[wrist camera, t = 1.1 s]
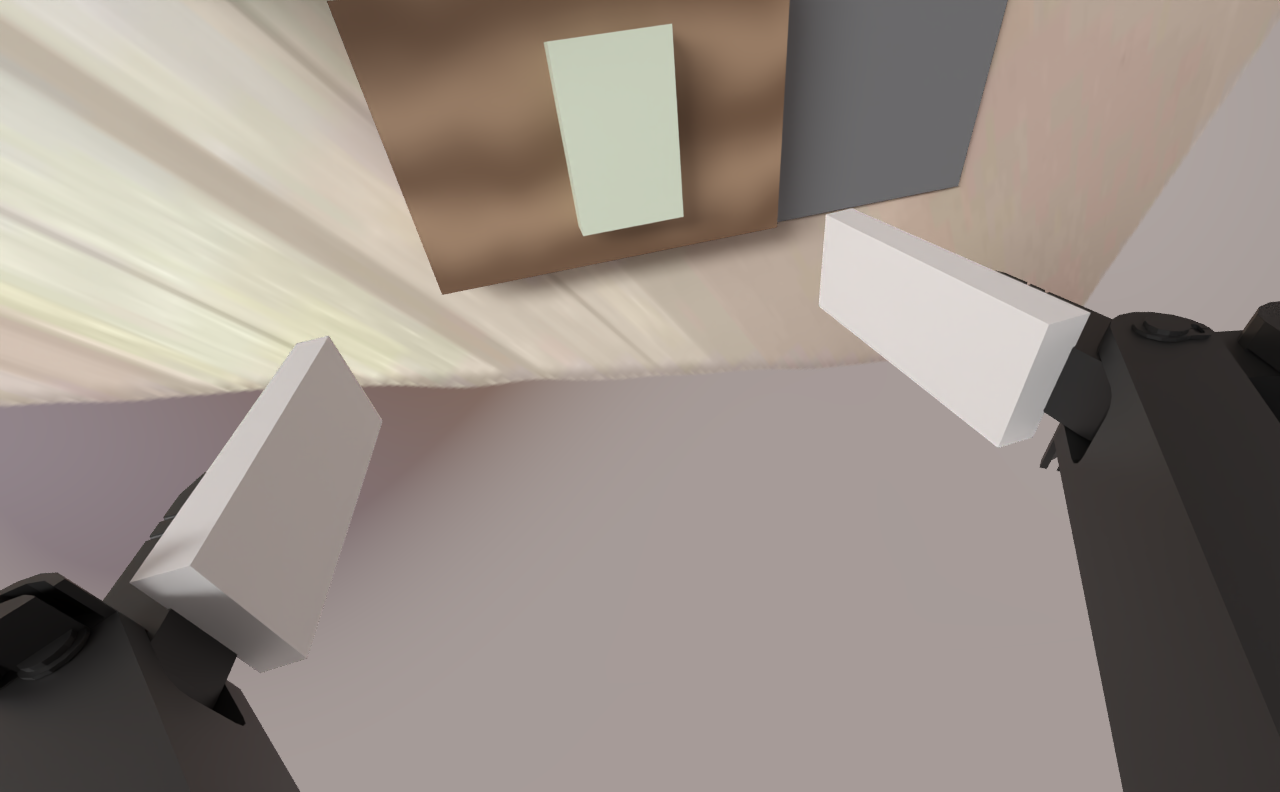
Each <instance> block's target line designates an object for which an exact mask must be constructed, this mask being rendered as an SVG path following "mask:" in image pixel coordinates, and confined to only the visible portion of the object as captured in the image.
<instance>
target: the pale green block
mask: <svg viewBox="0 0 1280 792" xmlns="http://www.w3.org/2000/svg"><path fill="white" fill-rule="evenodd" d="M544 47H545V52H546V58H547V63H548V68H549V73H550V79H551V84H552V89H553V94H554V100H555V105H556V110H557V115H558V121H559V126H560V131H561V136H562V142H563V147H564V152H565V157H566V163H567V168H568V173H569V178H570V184H571V189H572V194H573V199H574V205H575V210H576V215H577V220H578V226H579V228H580V230H581V232H582V235H583V236H587V235H592V234H597V233H602V232H607V231H613V230H618V229H623V228H628V227H633V226H638V225H644V224H649V223H654V222H659V221H664V220H669V219H674V218H680V217H684V215H683V199H682V182H681V165H680V148H679V131H678V114H677V98H676V81H675V64H674V47H673V30H672V24H666V25H659V26H652V27H645V28H638V29H631V30H624V31H617V32H610V33H603V34H596V35H589V36H582V37H576V38H569V39H562V40H555V41H548V42H544Z"/></svg>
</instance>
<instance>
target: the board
mask: <svg viewBox="0 0 1280 792" xmlns="http://www.w3.org/2000/svg"><path fill="white" fill-rule="evenodd" d="M327 3H328V5H329V8H330V10H331V13H332V16H333V18H334V21H335V23H336V26H337V28H338V31H339V33H340V36H341V38H342V41H343V43H344V46H345V49H346V51H347V54H348V56H349V59H350V61H351V64H352V66H353V69H354V71H355V74H356V77H357V79H358V82H359V84H360V87H361V89H362V92H363V94H364V97H365V99H366V102H367V104H368V107H369V110H370V112H371V115H372V117H373V120H374V122H375V125H376V127H377V130H378V132H379V135H380V137H381V140H382V143H383V145H384V148H385V150H386V153H387V155H388V158H389V160H390V163H391V165H392V168H393V171H394V173H395V176H396V178H397V181H398V183H399V186H400V188H401V191H402V193H403V196H404V198H405V201H406V204H407V206H408V209H409V211H410V214H411V216H412V219H413V221H414V224H415V226H416V229H417V232H418V234H419V237H420V239H421V242H422V244H423V247H424V249H425V252H426V254H427V257H428V259H429V262H430V265H431V267H432V270H433V272H434V275H435V277H436V280H437V282H438V285H439V287H440V290H441V293H442V295H444V294H449V293H453V292H458V291H463V290H468V289H473V288H478V287H483V286H488V285H493V284H498V283H503V282H508V281H513V280H518V279H523V278H528V277H533V276H538V275H543V274H548V273H553V272H558V271H563V270H568V269H572V268H577V267H582V266H587V265H592V264H597V263H602V262H607V261H612V260H617V259H622V258H627V257H632V256H637V255H642V254H647V253H652V252H657V251H662V250H667V249H672V248H677V247H682V246H686V245H691V244H696V243H701V242H706V241H711V240H716V239H721V238H726V237H731V236H736V235H741V234H746V233H751V232H756V231H761V230H766V229H771V228H776V227H777V217H778V199H779V182H780V164H781V146H782V128H783V110H784V92H785V74H786V57H787V39H788V21H789V3H790V0H333V1H327ZM666 24H672V30H673V47H674V64H675V81H676V98H677V114H678V131H679V148H680V165H681V182H682V199H683V215H684V217H680V218H674V219H669V220H664V221H659V222H654V223H649V224H644V225H638V226H633V227H628V228H623V229H618V230H613V231H607V232H602V233H597V234H592V235H587V236H583V235H582V232H581V230H580V228H579V226H578V220H577V215H576V210H575V205H574V199H573V194H572V189H571V184H570V178H569V173H568V168H567V163H566V157H565V152H564V147H563V142H562V136H561V131H560V126H559V121H558V115H557V110H556V105H555V100H554V94H553V89H552V84H551V79H550V73H549V68H548V63H547V58H546V52H545V47H544V42H548V41H555V40H562V39H569V38H576V37H582V36H589V35H596V34H603V33H610V32H617V31H624V30H631V29H638V28H645V27H652V26H659V25H666Z"/></svg>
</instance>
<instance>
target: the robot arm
mask: <svg viewBox="0 0 1280 792" xmlns="http://www.w3.org/2000/svg"><path fill="white" fill-rule="evenodd" d="M819 307H820V308H822V309H823V310H824V311H826V312H827V313H828V314H829V315H831V316H832V317H833V318H834V319H836V320H837V321H838V322H839V323H841V324H842V325H843V326H845V327H846V328H847V329H848V330H850V331H851V332H852V333H853V334H855V335H856V336H857V337H858V338H860V339H861V340H862V341H864V342H865V343H866V344H867V345H869V346H870V347H871V348H872V349H874V350H875V351H876V352H877V353H879V354H880V355H881V356H882V357H884V358H885V359H886V360H888V361H889V362H890V363H891V364H893V365H894V366H895V367H896V368H898V369H899V370H900V371H901V372H903V373H904V374H905V375H907V376H908V377H909V378H910V379H912V380H913V381H914V382H915V383H917V384H918V385H919V386H920V387H922V388H923V389H924V390H926V391H927V392H928V393H929V394H931V395H932V396H933V397H935V398H936V399H937V400H938V401H939V402H941V403H942V404H943V405H945V406H946V407H947V408H948V409H950V410H951V411H952V412H953V413H955V414H956V415H957V416H959V417H960V418H961V419H962V420H964V421H965V422H966V423H967V424H969V425H970V426H971V427H972V428H974V429H975V430H976V431H978V432H979V433H980V434H981V435H982V436H984V437H985V438H986V439H988V440H989V441H990V442H991V443H993V444H994V445H995V446H996V447H998V448H999V447H1002V446H1005V445H1009V444H1012V443H1016V442H1019V441H1022V440H1025V439H1029V438H1032V437H1033V436H1034V433H1035V431H1036V429H1037V427H1038V425H1039V423H1040V421H1041V418H1042V416H1043V414H1044V412H1045V413H1046V414H1048V415H1049V416H1051V417H1053V418H1054V419H1056V420H1057V421H1059V422H1060V424H1059V426H1058V428H1057V430H1056V432H1055V434H1054V436H1053V438H1052V440H1051V442H1050V444H1049V446H1048V448H1047V450H1046V452H1045V454H1044V456H1043V458H1042V460H1041V464H1040V467H1041V468H1045V469H1046V468H1047V467H1048V465H1049V463H1050V462H1051V460H1053V459H1055V458H1056V457H1057V458H1058V463H1059V467H1058V469H1057V470H1058V471H1060V473H1061V478H1062V483H1063V489H1064V494H1065V499H1066V504H1067V509H1068V514H1069V519H1070V524H1071V529H1072V534H1073V539H1074V544H1075V549H1076V554H1077V559H1078V565H1079V570H1080V574H1081V579H1082V585H1083V590H1084V595H1085V600H1086V605H1087V609H1088V615H1089V620H1090V625H1091V630H1092V636H1093V641H1094V646H1095V650H1096V656H1097V661H1098V666H1099V671H1100V676H1101V681H1102V686H1103V691H1104V696H1105V701H1106V706H1107V711H1108V717H1109V721H1110V726H1111V732H1112V737H1113V742H1114V747H1115V752H1116V757H1117V762H1118V767H1119V772H1120V777H1121V782H1122V787H1123V792H1280V301H1279V302H1270V303H1267V304H1265V305H1263V306H1260V307H1259V308H1258V310H1257V311H1256V313H1255V314H1254V316H1253V317H1252V318H1251V320H1250V321H1249V323H1248V324H1247V325H1246V327H1245V328H1244V330H1240V331H1225V332H1214V331H1213V330H1211V329H1210V328H1209V327H1207V326H1205V325H1204V324H1201V323H1198V322H1196V321H1193V320H1190V319H1186V318H1183V317H1179V316H1175V315H1169V314H1161V313H1155V312H1132V313H1128V314H1123V315H1119V316H1117V317H1115V318H1114V319H1110V318H1108V317H1106V316H1103V315H1101V314H1099V313H1097V312H1094V311H1092V310H1090V309H1087V308H1085V307H1083V306H1080V305H1078V304H1076V303H1073V302H1071V301H1069V300H1067V299H1064V298H1062V297H1060V296H1057V295H1055V294H1053V293H1050V292H1048V293H1045V290H1043V289H1041V288H1039V287H1037V286H1034V285H1032V284H1030V285H1027V282H1025V281H1023V280H1020V279H1018V278H1016V277H1014V276H1011V275H1009V274H1007V273H1003V272H999V271H995V270H992V269H990V268H987V267H985V266H983V265H981V264H978V263H976V262H974V261H971V260H969V259H967V258H965V257H962V256H960V255H958V254H955V253H953V252H951V251H949V250H946V249H944V248H942V247H939V246H937V245H935V244H933V243H930V242H928V241H926V240H923V239H921V238H919V237H917V236H914V235H912V234H910V233H907V232H905V231H903V230H901V229H898V228H896V227H894V226H892V225H889V224H887V223H885V222H882V221H880V220H878V219H876V218H873V217H871V216H869V215H866V214H864V213H862V212H860V211H857V210H855V209H853V208H851V209H847V210H843V211H839V212H835V213H831V214H826V222H825V234H824V247H823V259H822V272H821V284H820V297H819ZM381 424H382V419H381V417H380V416H379V414H378V413H377V411H376V410H375V408H374V406H373V405H372V403H371V402H370V400H369V398H368V397H367V395H366V394H365V392H364V391H363V389H362V387H361V386H360V384H359V383H358V381H357V379H356V378H355V376H354V375H353V373H352V372H351V370H350V368H349V367H348V365H347V364H346V362H345V360H344V359H343V357H342V356H341V354H340V353H339V351H338V349H337V348H336V346H335V345H334V343H333V342H332V340H331V338H330V337H329V336H325V337H321V338H317V339H313V340H309V341H305V342H301V343H297V344H296V345H295V346H294V348H293V349H292V351H291V352H290V353H289V355H288V356H287V358H286V359H285V361H284V362H283V363H282V365H281V366H280V368H279V369H278V371H277V372H276V373H275V375H274V376H273V378H272V379H271V381H270V382H269V384H268V385H267V386H266V388H265V389H264V391H263V392H262V394H261V395H260V396H259V398H258V399H257V401H256V402H255V404H254V405H253V406H252V408H251V409H250V411H249V412H248V414H247V415H246V416H245V418H244V419H243V421H242V422H241V424H240V425H239V427H238V428H237V429H236V431H235V432H234V434H233V435H232V436H231V438H230V439H229V441H228V442H227V444H226V445H225V447H224V448H223V449H222V451H221V452H220V454H219V455H218V457H217V458H216V459H215V461H214V462H213V464H212V465H211V466H210V468H209V469H208V471H207V472H205V473H204V474H202V475H201V477H199V478H198V479H197V480H196V481H195V482H194V483H192V484H191V485H190V486H189V487H188V488H187V489H185V490H184V491H183V492H182V493H181V494H180V495H179V497H178V498H177V499H176V500H175V502H174V503H173V505H172V506H171V507H170V509H169V510H168V511H167V513H166V514H165V516H164V521H162V522H160V523H159V524H158V525H157V527H156V528H155V529H154V531H153V532H152V534H151V535H150V538H151V540H148V541H146V542H145V543H144V545H143V546H142V547H141V549H140V550H139V552H138V553H137V554H136V556H135V557H134V558H133V560H132V561H131V563H130V564H129V565H128V567H127V568H126V570H125V571H124V572H123V574H122V575H121V576H120V578H119V579H118V580H117V582H116V583H115V585H114V586H113V588H112V589H111V590H110V592H109V593H108V594H107V596H106V597H105V598H104V600H103V601H102V600H100V599H98V598H96V597H95V596H93V595H92V594H90V593H89V592H87V591H86V590H84V589H83V588H81V587H79V586H78V585H76V584H75V583H73V582H71V581H70V580H68V579H67V578H65V577H64V576H62V575H60V574H59V573H43V574H38V575H35V576H33V577H30V578H27V579H24V580H21V581H18V582H16V583H14V584H12V585H10V586H8V587H6V588H5V589H2V590H0V792H300V791H299V789H298V788H297V785H296V784H295V782H294V780H293V779H292V777H291V775H290V773H289V772H288V770H287V768H286V767H285V765H284V763H283V762H282V760H281V758H280V756H279V755H278V753H277V751H276V749H275V748H274V746H273V744H272V743H271V741H270V739H269V738H268V736H267V734H266V732H265V731H264V729H263V728H262V725H261V724H260V722H259V720H258V719H257V717H256V715H255V713H254V712H253V710H252V708H251V707H250V705H249V703H248V702H247V700H246V698H245V696H244V695H243V693H242V691H241V690H240V689H239V688H238V687H236V686H235V685H234V684H232V683H231V682H229V681H227V677H228V675H229V673H230V671H231V668H232V666H233V663H234V661H235V659H236V657H238V658H239V659H241V660H242V661H243V662H245V663H247V664H248V665H249V666H251V667H252V668H254V669H255V670H257V671H258V672H260V673H261V672H265V671H268V670H271V669H275V668H278V667H281V666H284V665H287V664H291V663H294V662H298V661H301V660H304V659H307V657H308V654H309V651H310V647H311V644H312V641H313V638H314V635H315V632H316V629H317V626H318V622H319V619H320V616H321V613H322V610H323V607H324V603H325V600H326V597H327V594H328V591H329V588H330V585H331V582H332V578H333V575H334V572H335V569H336V566H337V562H338V560H339V556H340V553H341V550H342V547H343V543H344V541H345V538H346V534H347V531H348V528H349V525H350V522H351V518H352V515H353V512H354V509H355V506H356V503H357V500H358V497H359V493H360V490H361V487H362V484H363V481H364V478H365V475H366V471H367V468H368V465H369V462H370V459H371V455H372V452H373V449H374V446H375V443H376V440H377V437H378V434H379V431H380V427H381Z"/></svg>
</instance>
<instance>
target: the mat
mask: <svg viewBox="0 0 1280 792" xmlns="http://www.w3.org/2000/svg"><path fill="white" fill-rule="evenodd" d="M1007 1H1008V0H790V3H789V21H788V39H787V57H786V74H785V92H784V110H783V128H782V146H781V164H780V182H779V199H778V217H777V222H781V221H785V220H790V219H795V218H800V217H805V216H810V215H815V214H820V213H825V212H830V211H835V210H840V209H845V208H850V207H855V206H860V205H865V204H870V203H875V202H880V201H885V200H890V199H895V198H900V197H905V196H910V195H915V194H920V193H925V192H930V191H935V190H940V189H945V188H950V187H955V186H958V184H959V180H960V177H961V173H962V169H963V165H964V162H965V158H966V154H967V150H968V147H969V143H970V139H971V135H972V132H973V128H974V124H975V120H976V117H977V113H978V109H979V106H980V102H981V98H982V94H983V91H984V87H985V83H986V79H987V76H988V72H989V68H990V64H991V61H992V57H993V53H994V49H995V46H996V42H997V38H998V35H999V31H1000V27H1001V23H1002V20H1003V16H1004V12H1005V8H1006V5H1007Z"/></svg>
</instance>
